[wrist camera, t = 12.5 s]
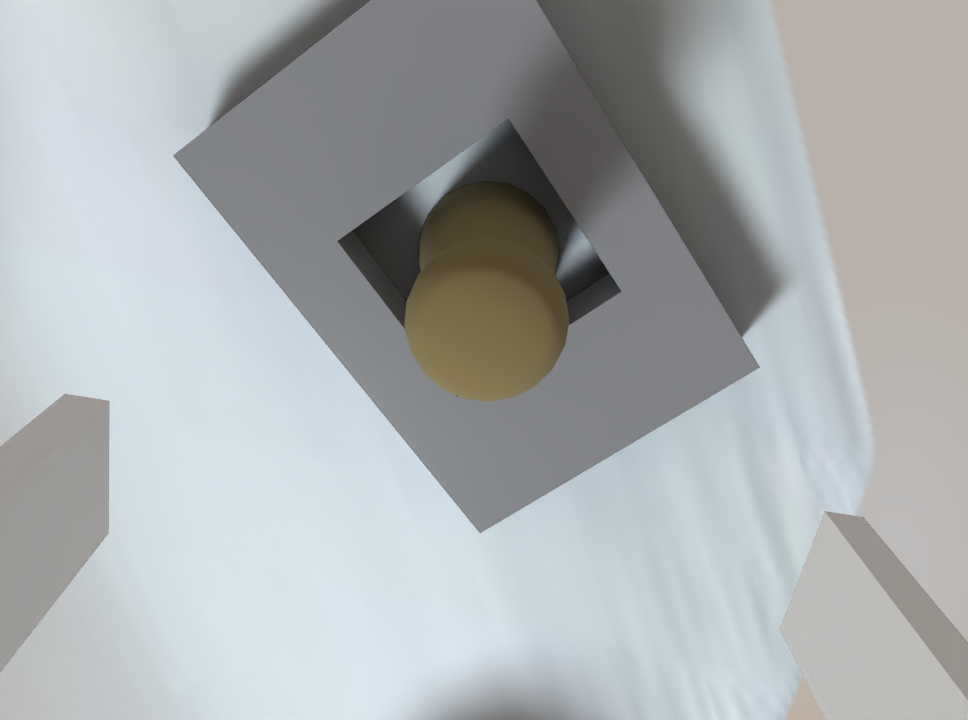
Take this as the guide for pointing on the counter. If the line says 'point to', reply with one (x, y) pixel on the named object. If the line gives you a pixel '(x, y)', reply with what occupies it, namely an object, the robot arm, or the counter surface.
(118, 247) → the counter surface
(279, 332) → the counter surface
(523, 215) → the cork
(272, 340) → the counter surface
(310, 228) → the dock board
